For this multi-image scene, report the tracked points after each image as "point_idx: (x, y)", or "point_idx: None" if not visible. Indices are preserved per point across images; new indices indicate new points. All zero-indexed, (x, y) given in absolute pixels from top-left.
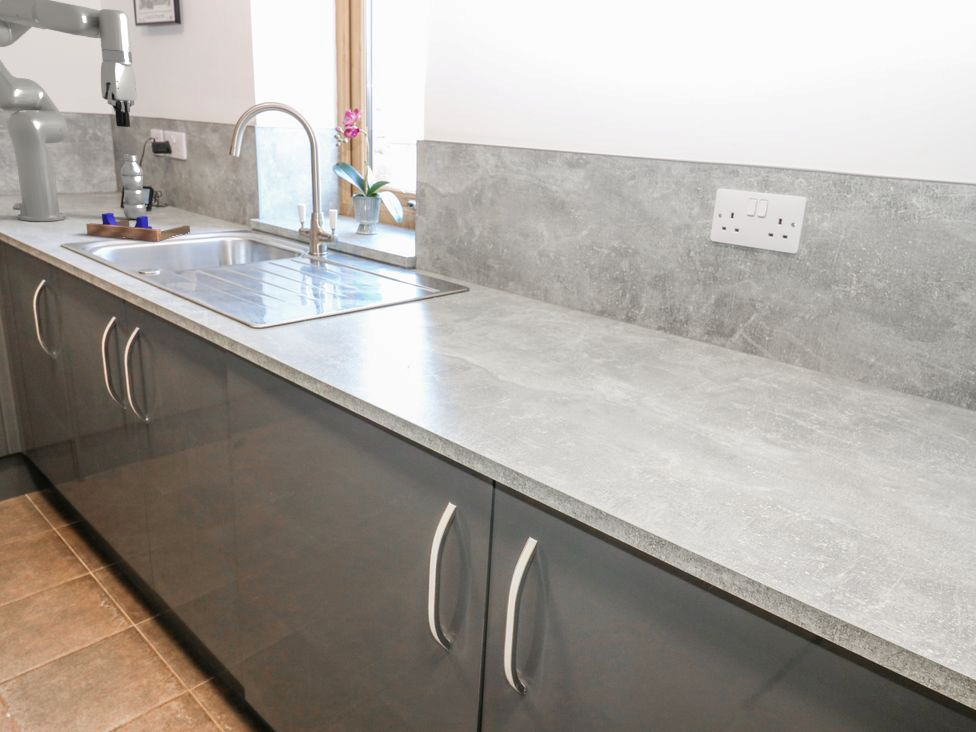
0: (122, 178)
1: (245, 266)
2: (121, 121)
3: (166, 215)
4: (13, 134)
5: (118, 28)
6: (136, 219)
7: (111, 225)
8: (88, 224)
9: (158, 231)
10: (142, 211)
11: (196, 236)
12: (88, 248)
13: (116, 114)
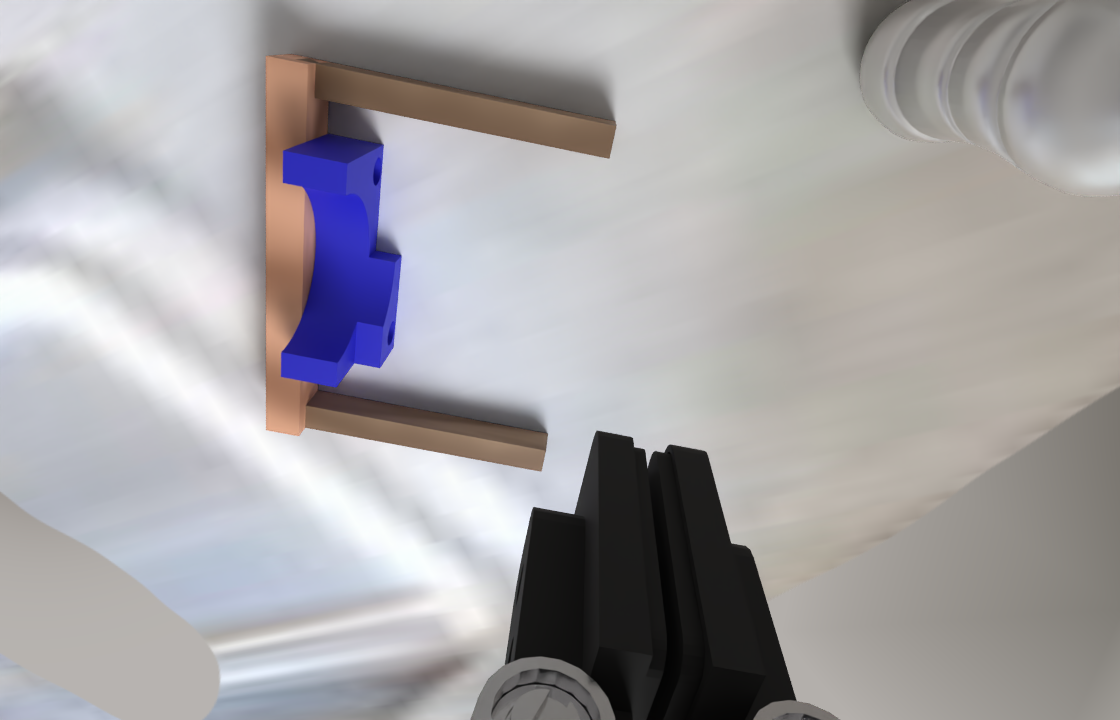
0: (1036, 9)
1: (59, 711)
2: (515, 594)
3: None
4: None
5: None
6: (285, 347)
7: (289, 201)
8: (267, 69)
9: (281, 429)
10: (895, 133)
11: (466, 496)
12: (4, 221)
13: (592, 606)
